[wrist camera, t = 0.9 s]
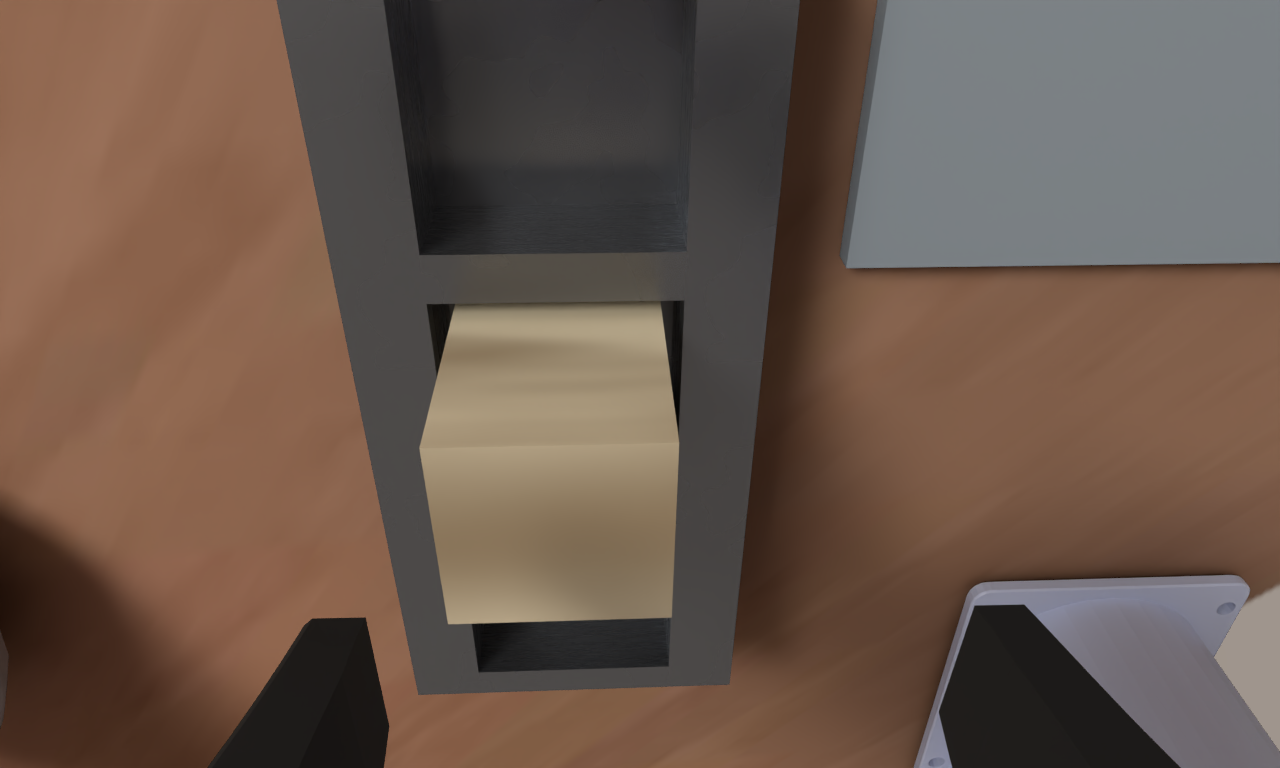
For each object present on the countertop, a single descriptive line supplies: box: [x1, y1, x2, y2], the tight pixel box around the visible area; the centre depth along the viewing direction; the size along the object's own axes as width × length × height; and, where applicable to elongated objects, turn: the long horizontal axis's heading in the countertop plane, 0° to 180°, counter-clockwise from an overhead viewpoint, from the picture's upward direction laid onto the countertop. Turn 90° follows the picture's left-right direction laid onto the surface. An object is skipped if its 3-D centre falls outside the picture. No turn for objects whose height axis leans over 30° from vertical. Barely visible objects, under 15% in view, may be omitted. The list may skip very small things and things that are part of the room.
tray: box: [277, 0, 800, 695], centre depth 19 cm, size 18×8×3 cm, turn 179°
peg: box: [419, 301, 679, 624], centre depth 18 cm, size 4×4×6 cm
